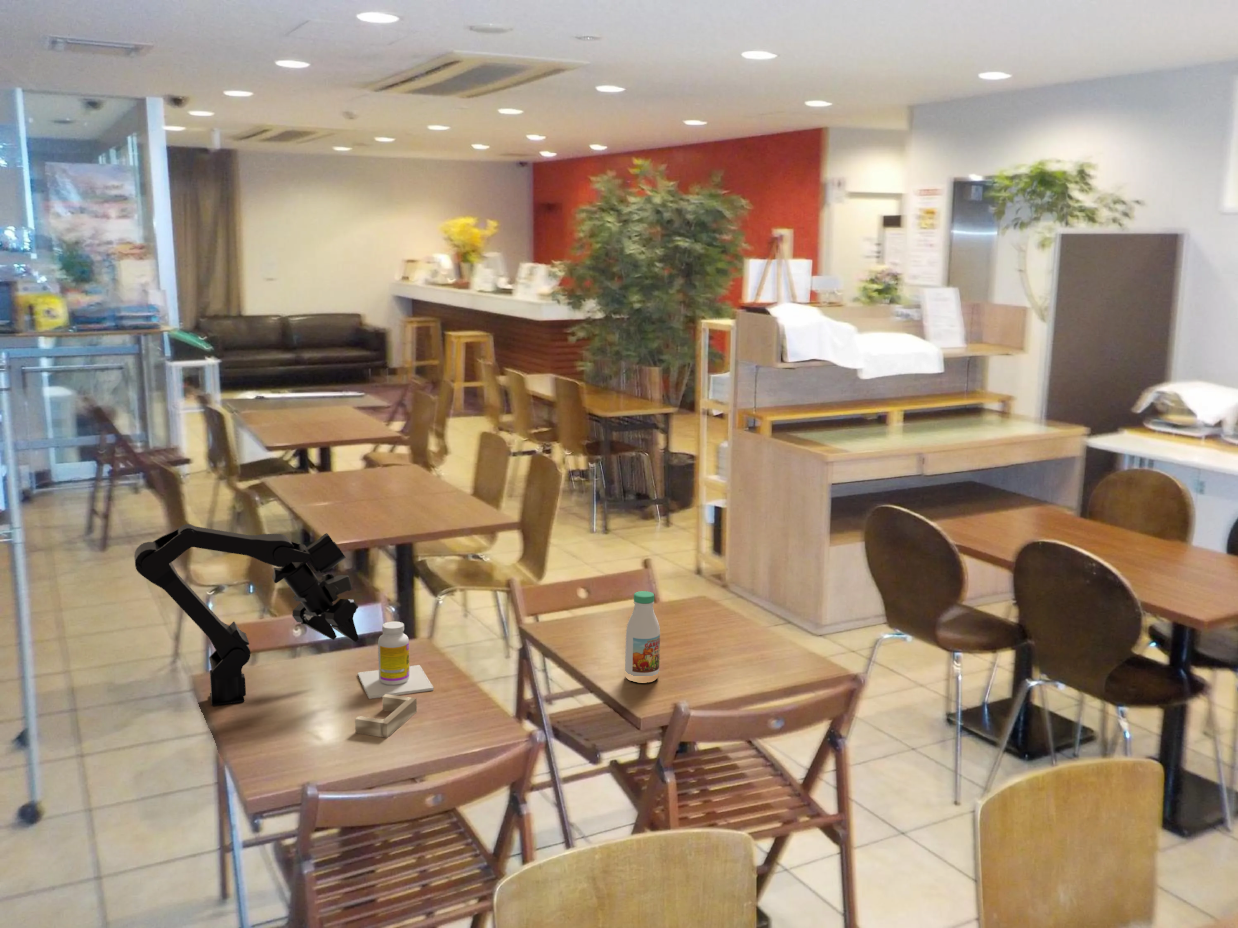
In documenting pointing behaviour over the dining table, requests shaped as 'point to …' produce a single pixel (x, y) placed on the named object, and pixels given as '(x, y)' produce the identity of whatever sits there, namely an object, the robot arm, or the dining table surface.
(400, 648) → the supplement bottle
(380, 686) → the white mat
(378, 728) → the bottle cradle
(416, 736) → the dining table surface
